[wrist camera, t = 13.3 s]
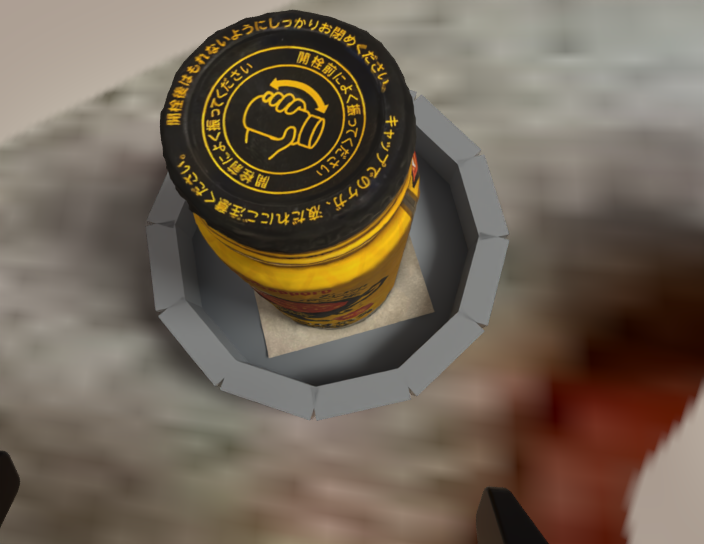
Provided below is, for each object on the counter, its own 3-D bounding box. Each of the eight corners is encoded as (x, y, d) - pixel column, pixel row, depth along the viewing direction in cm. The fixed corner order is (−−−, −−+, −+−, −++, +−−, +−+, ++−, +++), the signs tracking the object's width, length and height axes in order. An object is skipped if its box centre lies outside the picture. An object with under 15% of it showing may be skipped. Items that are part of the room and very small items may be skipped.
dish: (549, 259, 22) (579, 240, 19) (316, 483, 20) (308, 501, 17) (341, 62, 24) (339, 18, 21) (117, 242, 22) (80, 220, 19)
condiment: (270, 358, 20) (137, 324, 8) (229, 180, 22) (75, -53, 10) (433, 312, 20) (532, 216, 8) (379, 141, 22) (398, -129, 10)
